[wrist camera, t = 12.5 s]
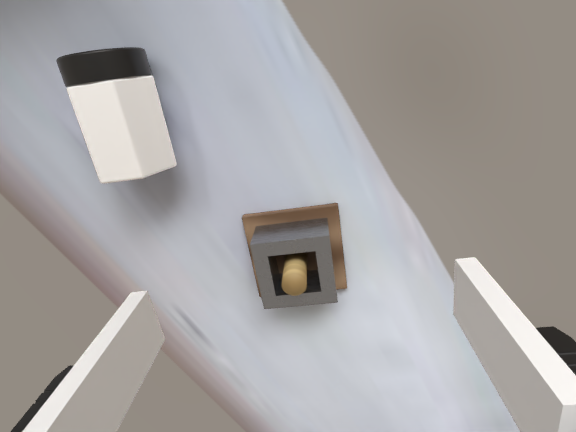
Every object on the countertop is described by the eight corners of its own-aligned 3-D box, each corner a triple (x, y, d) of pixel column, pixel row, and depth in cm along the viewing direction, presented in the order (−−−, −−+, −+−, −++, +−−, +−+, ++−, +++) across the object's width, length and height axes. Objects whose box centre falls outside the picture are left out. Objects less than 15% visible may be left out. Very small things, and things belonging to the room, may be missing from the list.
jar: (189, 157, 43) (161, 48, 38) (163, 176, 35) (125, 44, 31) (119, 166, 44) (84, 61, 39) (79, 187, 36) (30, 60, 32)
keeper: (243, 214, 45) (230, 243, 38) (337, 203, 44) (342, 230, 37) (260, 292, 50) (252, 332, 42) (346, 284, 48) (352, 323, 41)
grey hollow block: (255, 226, 45) (249, 244, 40) (327, 217, 44) (329, 235, 39) (268, 285, 48) (264, 309, 44) (334, 279, 47) (337, 302, 42)
